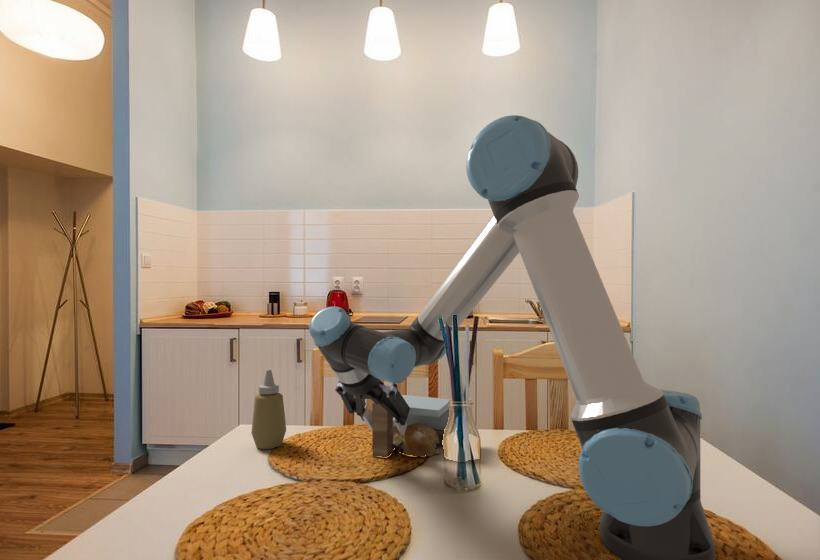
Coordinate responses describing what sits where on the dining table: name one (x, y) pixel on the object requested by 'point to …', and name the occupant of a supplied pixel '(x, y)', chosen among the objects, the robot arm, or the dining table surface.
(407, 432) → the bread roll
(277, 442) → the squeeze bottle
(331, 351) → the robot arm
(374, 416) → the wooden l-shaped post
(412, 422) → the low gray box
